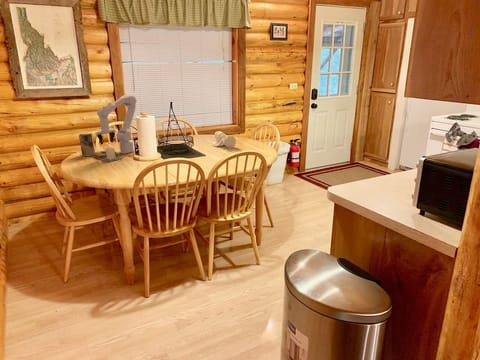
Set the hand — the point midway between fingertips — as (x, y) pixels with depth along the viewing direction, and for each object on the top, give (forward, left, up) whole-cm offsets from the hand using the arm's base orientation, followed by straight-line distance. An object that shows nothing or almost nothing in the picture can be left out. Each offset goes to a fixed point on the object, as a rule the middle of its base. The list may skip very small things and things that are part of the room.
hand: (107, 143), depth 274 cm
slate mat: (+2, +9, -10) cm, 14 cm away
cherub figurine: (-82, +37, -11) cm, 90 cm away
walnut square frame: (+1, -4, -10) cm, 11 cm away
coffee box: (+9, -15, -11) cm, 21 cm away
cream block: (+2, +8, -10) cm, 13 cm away
